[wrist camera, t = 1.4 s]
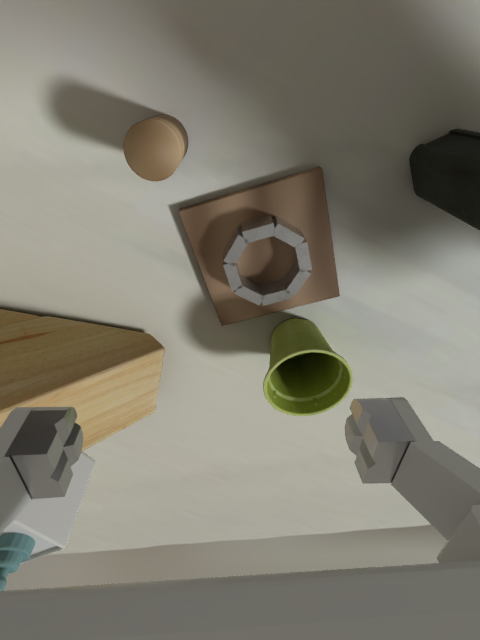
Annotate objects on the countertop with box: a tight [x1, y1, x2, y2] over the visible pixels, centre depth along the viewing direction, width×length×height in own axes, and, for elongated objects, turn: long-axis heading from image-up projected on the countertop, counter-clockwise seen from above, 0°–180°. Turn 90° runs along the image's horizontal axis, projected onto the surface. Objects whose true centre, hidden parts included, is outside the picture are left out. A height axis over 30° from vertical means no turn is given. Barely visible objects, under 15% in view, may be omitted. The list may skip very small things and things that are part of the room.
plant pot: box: [263, 318, 353, 416], centre depth 40 cm, size 9×9×9 cm
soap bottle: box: [0, 452, 95, 591], centre depth 47 cm, size 9×9×19 cm
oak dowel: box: [124, 115, 188, 181], centre depth 28 cm, size 4×4×7 cm
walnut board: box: [179, 167, 340, 326], centre depth 37 cm, size 14×14×1 cm
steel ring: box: [223, 215, 312, 306], centre depth 35 cm, size 8×8×2 cm
